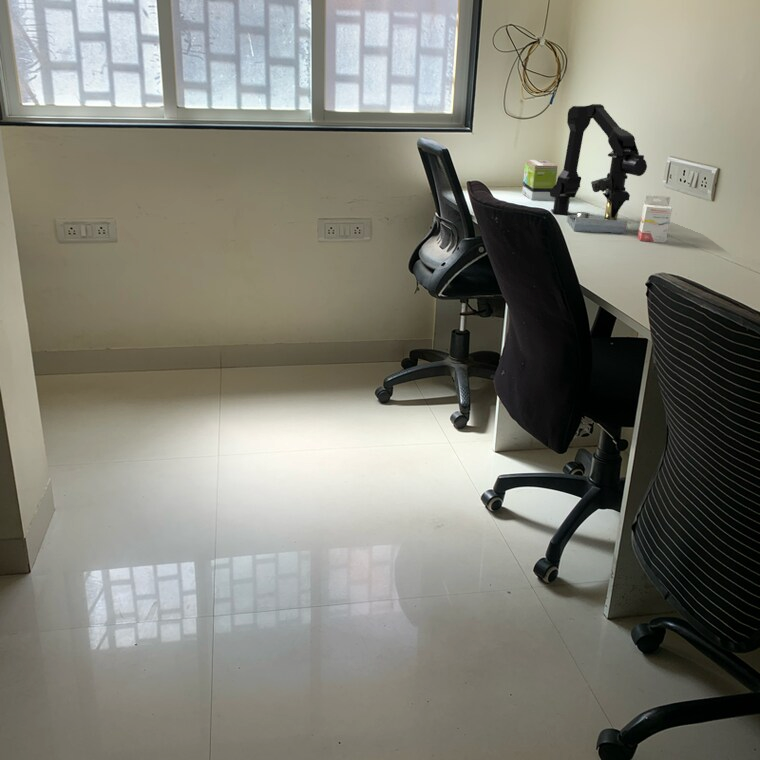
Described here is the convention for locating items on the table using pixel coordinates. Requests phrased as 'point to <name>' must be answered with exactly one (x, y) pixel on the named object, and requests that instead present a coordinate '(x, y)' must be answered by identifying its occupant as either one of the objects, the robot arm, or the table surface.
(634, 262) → the table surface
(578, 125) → the robot arm
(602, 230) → the jig plate
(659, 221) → the ink cartridge box
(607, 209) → the cylinder
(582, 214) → the steel bushing
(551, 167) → the tea box
